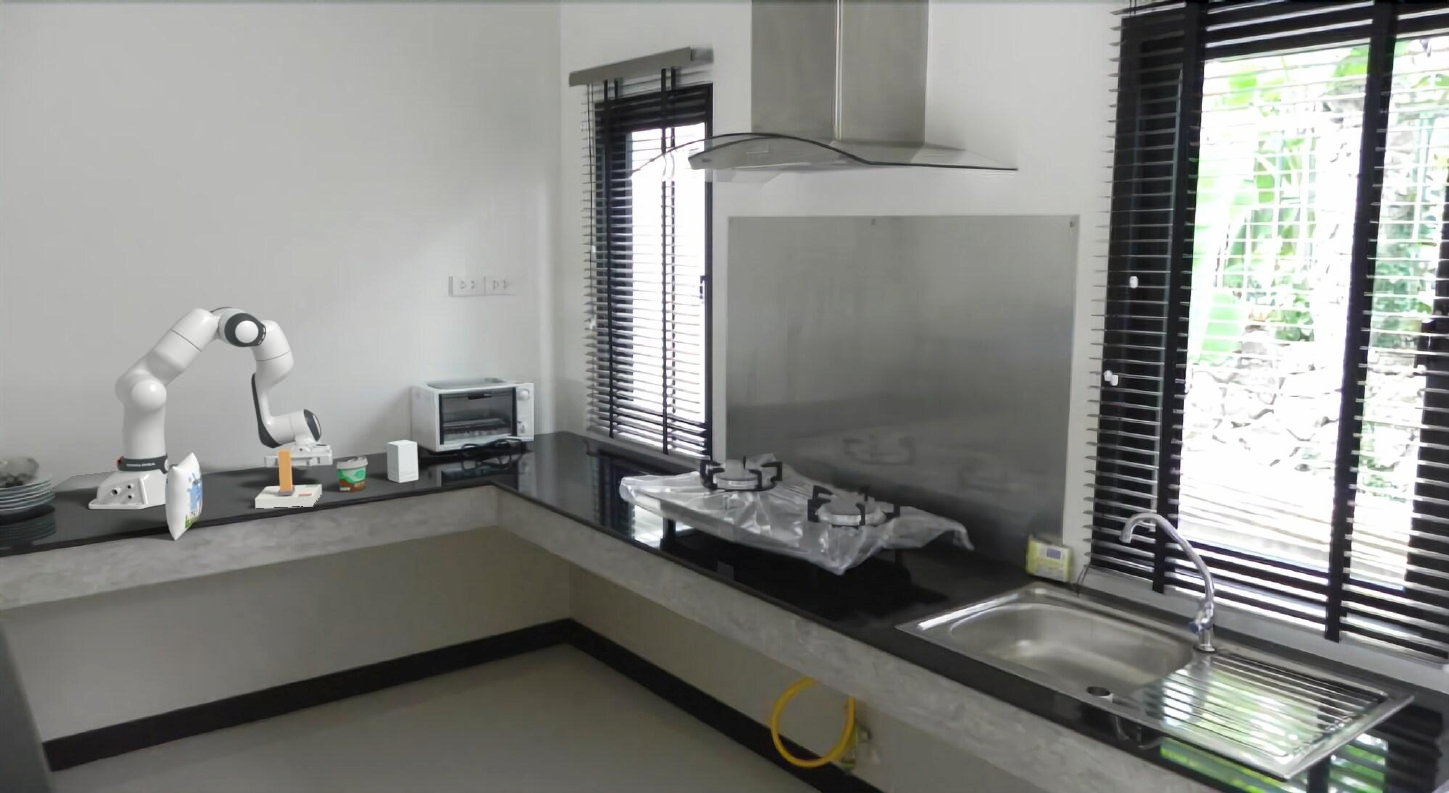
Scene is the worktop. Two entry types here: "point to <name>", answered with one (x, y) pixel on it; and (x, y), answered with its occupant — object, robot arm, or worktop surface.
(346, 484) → the food container
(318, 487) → the white flat block
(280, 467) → the handle
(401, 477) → the supplement box
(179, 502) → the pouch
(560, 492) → the worktop surface
